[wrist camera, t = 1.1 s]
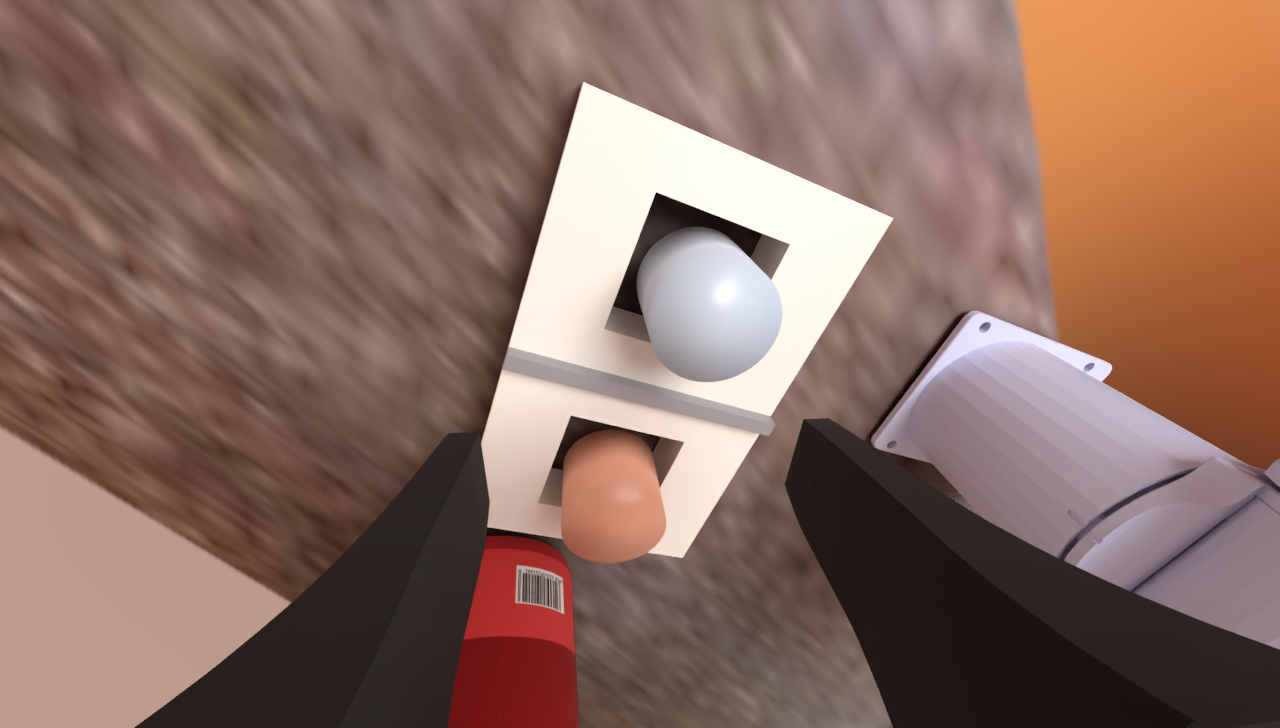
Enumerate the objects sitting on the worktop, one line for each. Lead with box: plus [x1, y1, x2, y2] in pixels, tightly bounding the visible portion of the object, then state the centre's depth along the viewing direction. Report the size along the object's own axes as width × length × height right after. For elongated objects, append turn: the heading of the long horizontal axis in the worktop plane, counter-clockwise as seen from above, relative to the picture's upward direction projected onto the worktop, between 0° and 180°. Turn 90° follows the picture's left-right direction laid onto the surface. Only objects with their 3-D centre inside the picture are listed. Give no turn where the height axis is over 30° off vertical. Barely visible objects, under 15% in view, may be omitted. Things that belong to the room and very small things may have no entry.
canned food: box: [448, 535, 579, 728], centre depth 21 cm, size 8×8×11 cm
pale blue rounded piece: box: [636, 227, 782, 382], centre depth 15 cm, size 4×4×4 cm
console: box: [481, 82, 893, 558], centre depth 19 cm, size 11×18×3 cm, turn 159°
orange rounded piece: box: [561, 430, 666, 563], centre depth 19 cm, size 4×4×4 cm
